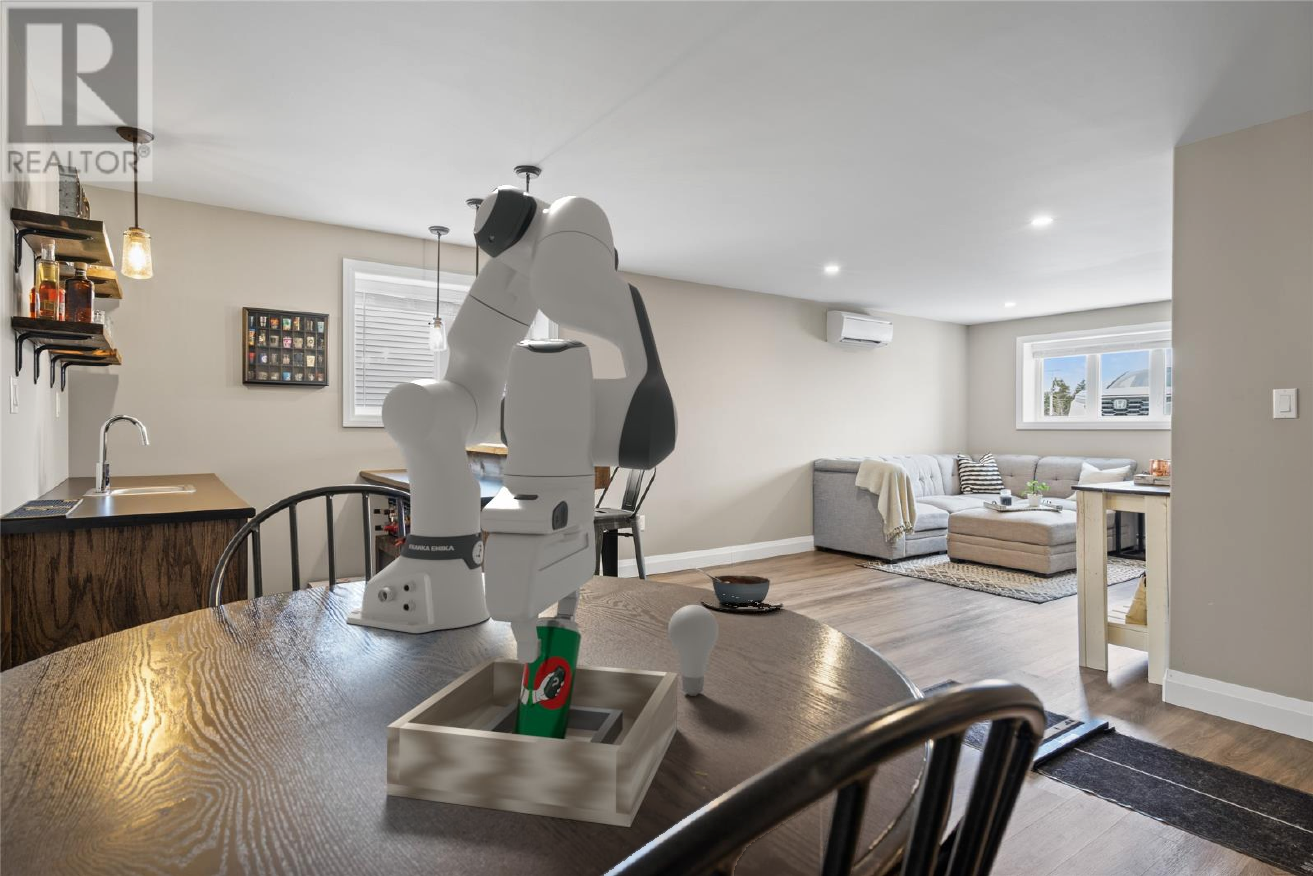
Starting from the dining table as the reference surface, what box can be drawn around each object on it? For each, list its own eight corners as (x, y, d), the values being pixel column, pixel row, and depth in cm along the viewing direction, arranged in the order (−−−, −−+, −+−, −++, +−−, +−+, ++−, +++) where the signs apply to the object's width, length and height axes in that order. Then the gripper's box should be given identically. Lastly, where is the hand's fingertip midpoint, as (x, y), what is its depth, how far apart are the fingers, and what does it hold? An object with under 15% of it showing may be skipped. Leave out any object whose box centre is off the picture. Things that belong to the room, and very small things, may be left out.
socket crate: (386, 794, 64) (387, 726, 63) (488, 709, 83) (488, 657, 83) (630, 827, 59) (630, 753, 59) (677, 728, 78) (677, 673, 78)
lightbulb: (665, 687, 91) (666, 599, 91) (713, 686, 91) (714, 599, 91) (670, 706, 85) (671, 612, 85) (722, 704, 85) (722, 611, 85)
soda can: (574, 756, 68) (592, 627, 73) (540, 750, 64) (563, 615, 70) (532, 752, 71) (553, 628, 76) (498, 746, 67) (522, 616, 72)
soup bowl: (762, 624, 122) (763, 580, 122) (680, 611, 131) (680, 569, 130) (794, 606, 135) (795, 566, 135) (717, 595, 143) (718, 557, 143)
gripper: (556, 493, 82) (555, 616, 82) (471, 514, 62) (469, 676, 62) (610, 495, 80) (609, 620, 80) (541, 516, 60) (539, 683, 60)
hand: (548, 645), depth 71 cm, fingers open, 8 cm apart
